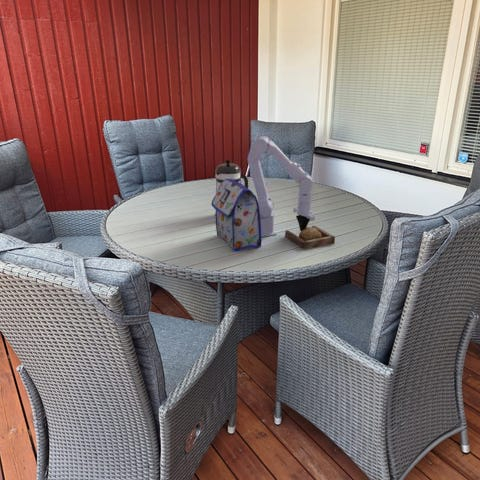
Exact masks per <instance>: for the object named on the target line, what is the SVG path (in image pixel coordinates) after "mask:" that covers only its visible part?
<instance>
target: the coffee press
mask: <svg viewBox="0 0 480 480" xmlns="http://www.w3.org/2000/svg"><path fill="white" fill-rule="evenodd" d="M241 173H242V169H241V168H240V166H239V165H238V164H236V163H232V162H231V159H226V160H225V163H221V164H219V165H217V166H216V168H215V174H214V175H215V176H214V177H215V189H216V193H217V191H218V189H219V186H220V184H221V183H222V181H224V180H225V179H233V180H234V181H235V182H239V183H241V184H242V180H241V179H243V181H244V186H245V187H246V188H248V189H249V179H248V176H247V175H245V174H241ZM216 193H215V194H216ZM214 216H215V217H216V212H215V213H214Z"/></svg>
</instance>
